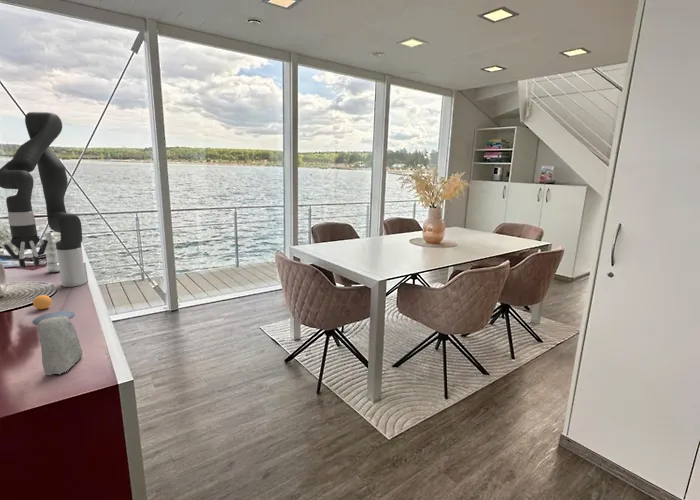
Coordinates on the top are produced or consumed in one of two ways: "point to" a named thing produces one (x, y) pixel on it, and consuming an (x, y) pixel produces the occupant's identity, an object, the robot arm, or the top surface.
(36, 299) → the ball
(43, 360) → the decorative stone
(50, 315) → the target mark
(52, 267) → the plastic bottle
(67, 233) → the robot arm
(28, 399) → the top surface
